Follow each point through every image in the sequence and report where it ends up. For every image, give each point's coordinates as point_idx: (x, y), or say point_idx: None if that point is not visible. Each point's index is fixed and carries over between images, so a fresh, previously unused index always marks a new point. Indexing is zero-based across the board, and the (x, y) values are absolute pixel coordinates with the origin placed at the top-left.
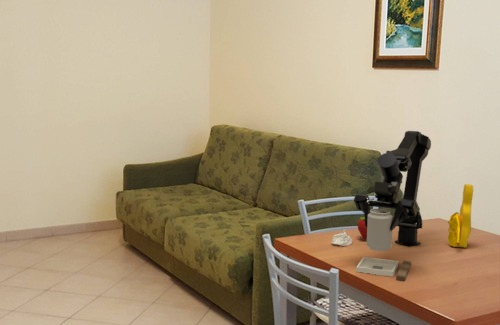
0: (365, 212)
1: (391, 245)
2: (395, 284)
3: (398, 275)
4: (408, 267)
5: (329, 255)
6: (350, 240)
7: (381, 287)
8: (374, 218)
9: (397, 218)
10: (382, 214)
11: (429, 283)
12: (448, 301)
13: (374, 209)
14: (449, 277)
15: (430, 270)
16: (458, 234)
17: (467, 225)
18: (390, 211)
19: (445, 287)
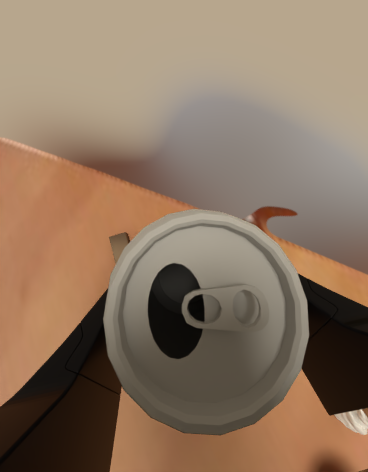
0: (325, 294)
1: (151, 289)
2: (119, 213)
3: (123, 238)
4: None
5: None
6: (340, 414)
7: (133, 185)
8: (197, 210)
9: (72, 337)
10: (149, 236)
11: (68, 258)
12: (15, 195)
13: (292, 345)
14: (43, 321)
15: None
16: None
17: None
18: (115, 368)
19: (36, 257)
